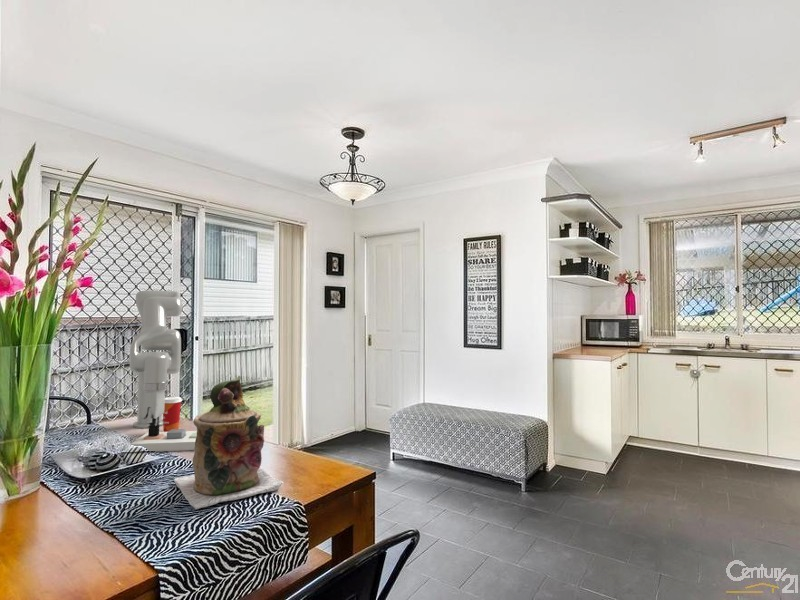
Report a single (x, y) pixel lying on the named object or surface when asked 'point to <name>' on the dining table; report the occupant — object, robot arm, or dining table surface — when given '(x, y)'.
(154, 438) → the terracotta key
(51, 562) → the dining table surface
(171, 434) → the charcoal key
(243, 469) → the cookie jar
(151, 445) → the keypad
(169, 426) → the paper cup
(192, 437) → the sage key
